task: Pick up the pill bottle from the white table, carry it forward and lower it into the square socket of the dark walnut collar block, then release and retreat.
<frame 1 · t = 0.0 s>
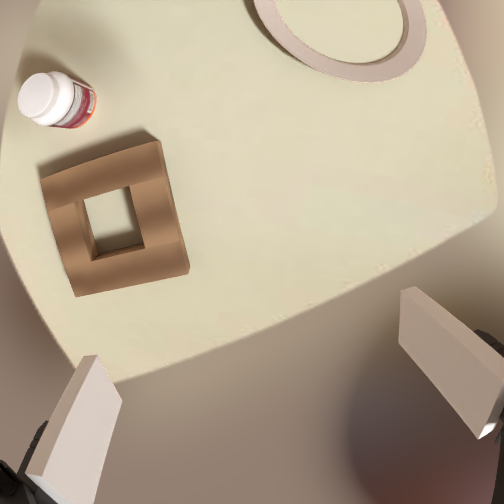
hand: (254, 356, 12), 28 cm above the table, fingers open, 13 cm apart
pill bottle: (78, 106, 33), on the table
plate: (342, 4, 32), on the table
socket block: (115, 220, 37), on the table
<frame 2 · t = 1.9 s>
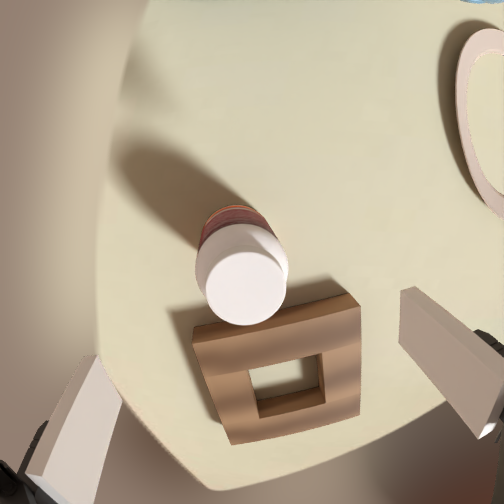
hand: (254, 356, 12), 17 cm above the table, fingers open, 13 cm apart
pill bottle: (236, 237, 28), on the table
socket block: (284, 371, 33), on the table
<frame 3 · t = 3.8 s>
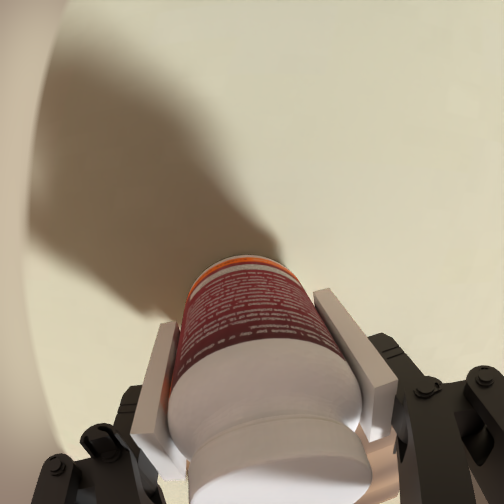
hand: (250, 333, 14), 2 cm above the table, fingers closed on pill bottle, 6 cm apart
pill bottle: (245, 307, 16), on the table, touching gripper
socket block: (308, 464, 21), on the table
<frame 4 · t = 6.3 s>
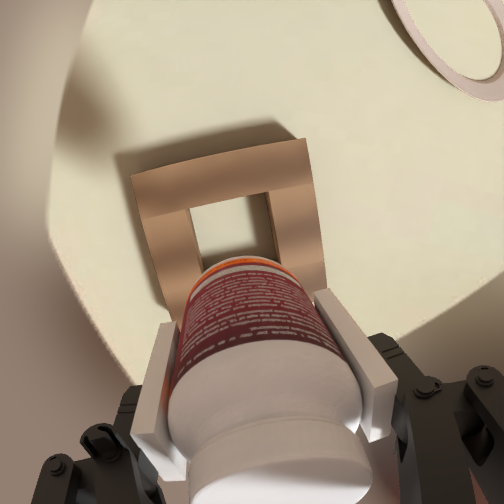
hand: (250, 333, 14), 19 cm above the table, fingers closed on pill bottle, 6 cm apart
pill bottle: (245, 307, 16), point 16 cm above the table, touching gripper
plate: (456, 17, 26), on the table
socket block: (233, 232, 32), on the table
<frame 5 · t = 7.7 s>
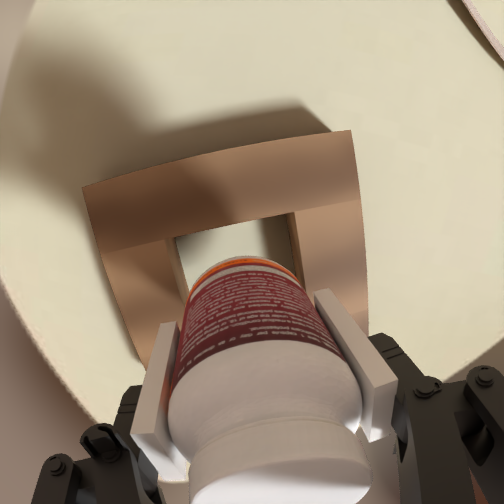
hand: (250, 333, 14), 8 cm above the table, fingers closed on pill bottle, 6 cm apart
pill bottle: (245, 307, 16), point 6 cm above the table, touching gripper
socket block: (239, 268, 22), on the table
when the fingers open (4 cm above the table, at t = 8.8 s): pill bottle drops 2 cm, resting in socket block.
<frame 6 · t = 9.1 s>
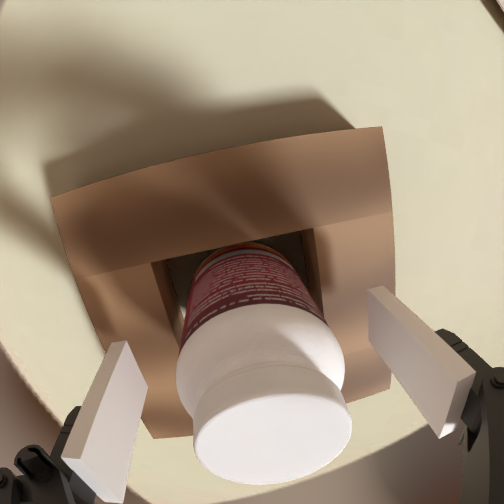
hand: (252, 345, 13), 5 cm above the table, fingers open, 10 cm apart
pill bottle: (244, 290, 18), resting in socket block
socket block: (243, 293, 18), on the table
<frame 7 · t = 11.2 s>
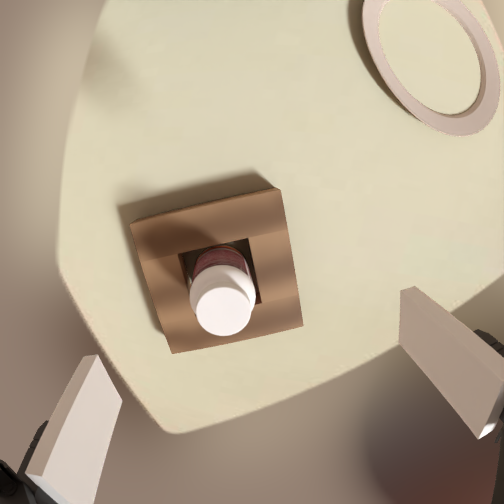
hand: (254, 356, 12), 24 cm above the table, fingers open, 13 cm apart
pill bottle: (221, 269, 37), resting in socket block
plate: (434, 51, 32), on the table
socket block: (220, 270, 37), on the table
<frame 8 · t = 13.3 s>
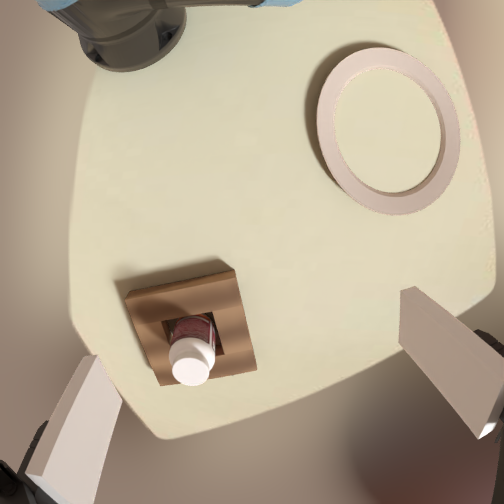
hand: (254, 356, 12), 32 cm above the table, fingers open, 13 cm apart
pill bottle: (195, 327, 47), resting in socket block
plate: (392, 130, 41), on the table
socket block: (194, 328, 47), on the table
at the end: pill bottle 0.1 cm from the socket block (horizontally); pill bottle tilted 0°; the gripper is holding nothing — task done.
